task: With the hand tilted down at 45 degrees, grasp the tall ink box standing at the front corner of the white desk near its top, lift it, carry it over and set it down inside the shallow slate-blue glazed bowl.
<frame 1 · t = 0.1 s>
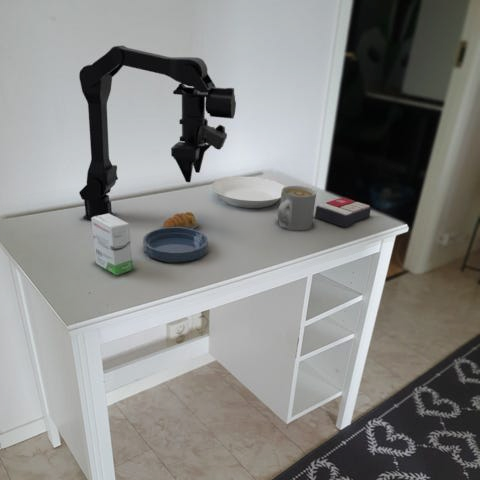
hand: (193, 177, 131), 15 cm above the table, tool pointing down, fingers open, 9 cm apart
coffee mug: (290, 225, 145), on the table
ink box: (114, 267, 116), on the table
pastry: (181, 228, 139), on the table
bowl: (248, 199, 163), on the table
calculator: (342, 217, 153), on the table
glazed bowl: (175, 250, 126), on the table
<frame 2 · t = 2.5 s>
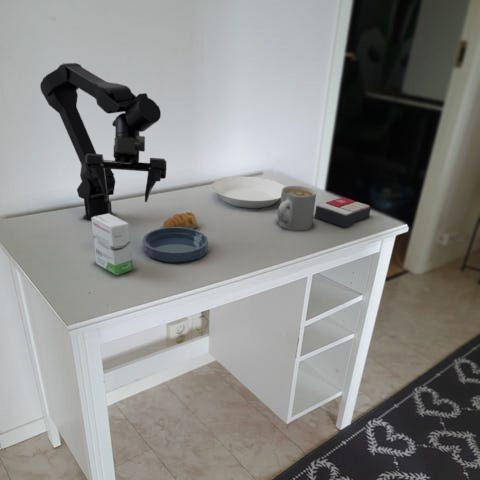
hand: (126, 200, 116), 13 cm above the table, tool tilted 40°, fingers open, 9 cm apart
nothing on the table moved.
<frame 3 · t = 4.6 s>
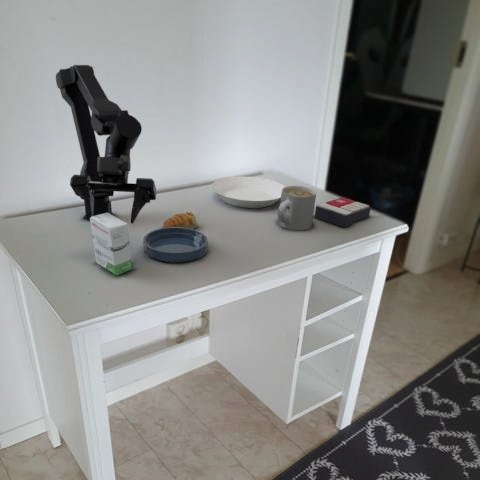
hand: (111, 221, 111), 11 cm above the table, tool tilted 45°, fingers open, 9 cm apart
ink box: (114, 266, 116), on the table, touching gripper
everything else where it was.
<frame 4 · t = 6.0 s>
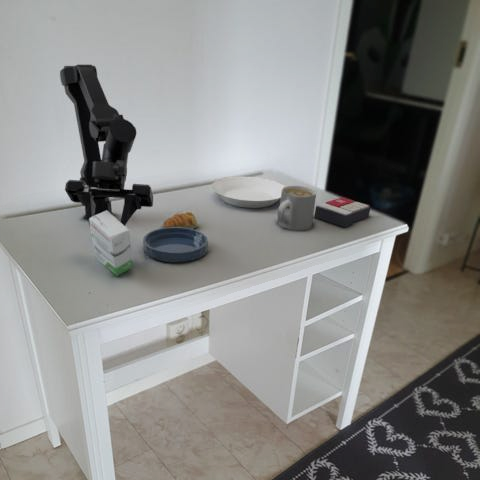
hand: (106, 227, 109), 11 cm above the table, tool tilted 50°, fingers closed on ink box, 6 cm apart
ink box: (113, 262, 115), point 1 cm above the table, touching gripper
everything else where it was.
when the fingers open (15 cm above the table, at t = 9.9 s): ink box drops 2 cm, resting on glazed bowl.
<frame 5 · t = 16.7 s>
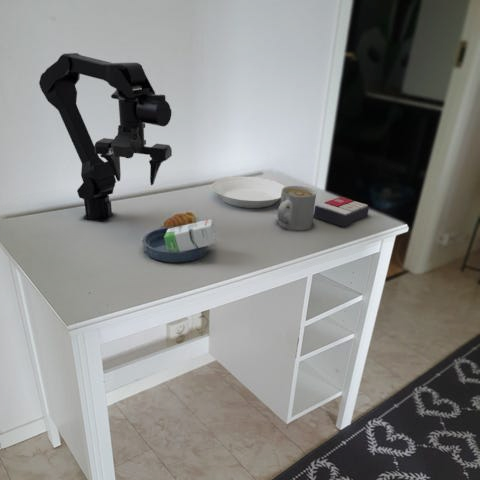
hand: (135, 182, 129), 13 cm above the table, tool pointing down, fingers open, 9 cm apart
ink box: (167, 241, 122), point 3 cm above the table, touching glazed bowl
everything else where it was.
at the end: ink box inside the target area on the glazed bowl (3.4 cm from its centre), point 3.4 cm above the glazed bowl's base; the gripper is holding nothing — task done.
